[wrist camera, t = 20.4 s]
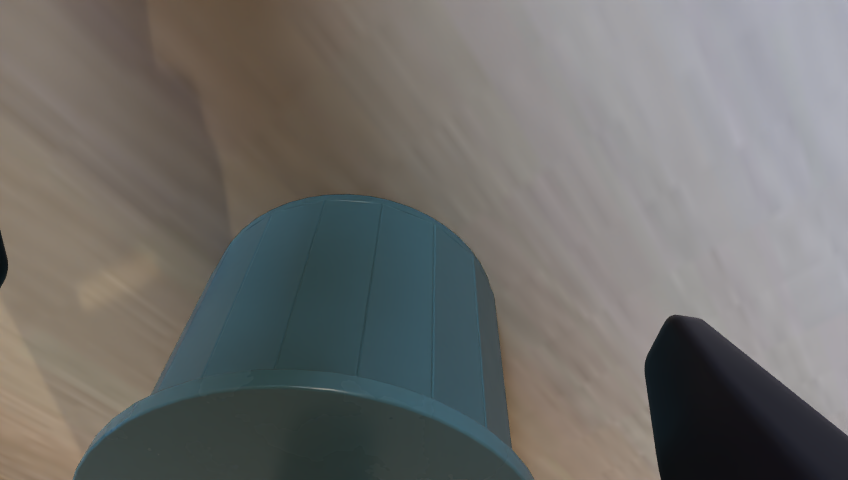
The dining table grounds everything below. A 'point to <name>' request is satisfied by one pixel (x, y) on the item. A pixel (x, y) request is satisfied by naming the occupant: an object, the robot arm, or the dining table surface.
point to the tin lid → (295, 433)
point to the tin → (351, 305)
